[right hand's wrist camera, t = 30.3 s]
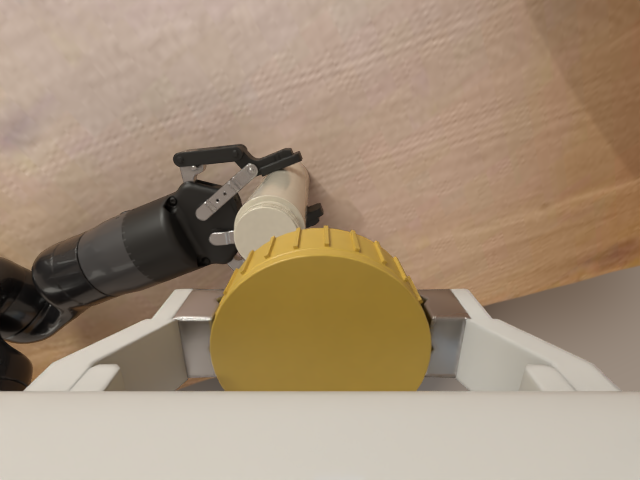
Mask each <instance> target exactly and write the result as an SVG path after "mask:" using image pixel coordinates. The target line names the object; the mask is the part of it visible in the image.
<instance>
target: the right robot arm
mask: <svg viewBox="0 0 640 480" xmlns="http://www.w3.org/2000/svg"><path fill="white" fill-rule="evenodd" d="M417 291H418V293H419V295H420V297H421V299H422V301H423V303H421V304H420V305H421V306H422V308H423V310H424V313H425V315H426V318H427V321H428V323H429V328H430V333H431V346H432V348H431V356H430V362H429V365H428V369H427V372H426V374H425V376H424V377H444V378H456V380H457V381H459V382H460V383H461V384H462V385H463V386H464V387H466V388H467V389H468V390H469V391H175V390H176V389H177V388H178V387H180V386H181V385H182V384H183V383H184V382H185V381H187V380H188V378H200V377H217V376H216V374H215V371H214V368H213V365H212V361H211V354H210V335H211V329H212V325H213V322H214V319H215V312H216V310H217V309H218V307H219V305H220V304H219V303H220V301H221V299H222V297H223V296H224V294H223V292H224V290H218V289H176V290H174V291H173V293H172V294H171V295H170V296H169V298H168V299H167V300H166V301H165V303H164V304H163V305H162V306H161V308H160V309H159V310H158V311H157V313H156V314H155V315H154V316H153V318H152V319H145V320H143V321H141V322H138V323H136V324H134V325H132V326H130V327H128V328H126V329H124V330H121V331H119V332H117V333H115V334H113V335H111V336H109V337H106V338H104V339H102V340H100V341H98V342H96V343H94V344H92V345H89V346H87V347H85V348H83V349H81V350H79V351H77V352H75V353H72V354H70V355H68V356H66V357H64V358H62V359H60V360H58V361H55V362H53V363H52V364H51V365H50V366H49V367H48V368H47V369H46V370H45V371H44V372H42V373H41V374H40V375H39V376H38V377H37V378H36V379H35V380H34V381H33V382H32V383H31V384H30V385H29V386H28V387H27V388H26V389H25V390H24V391H0V480H640V391H622V390H621V389H620V388H619V387H618V386H616V385H615V384H614V383H613V382H612V381H611V380H610V379H609V378H608V377H607V376H606V375H605V374H604V373H603V372H602V371H601V370H600V369H598V368H597V367H596V366H595V365H594V364H593V363H591V362H589V361H587V360H585V359H583V358H580V357H578V356H576V355H574V354H572V353H570V352H567V351H565V350H563V349H561V348H559V347H557V346H555V345H553V344H550V343H548V342H546V341H544V340H542V339H540V338H538V337H536V336H533V335H531V334H529V333H527V332H525V331H523V330H521V329H518V328H516V327H514V326H512V325H510V324H508V323H505V322H503V321H501V320H499V319H492V318H491V317H490V315H489V314H488V313H487V312H486V310H485V309H484V308H483V307H482V306H481V304H480V303H479V302H478V301H477V300H476V298H475V297H474V296H473V295H472V293H471V292H470V291H469V290H467V289H430V290H417Z"/></svg>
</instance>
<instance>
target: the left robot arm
mask: <svg viewBox="0 0 640 480" xmlns="http://www.w3.org/2000/svg"><path fill="white" fill-rule="evenodd" d="M173 161H174V163H175V165H177V166H178V167H180V170H181V174H182V178H183V182H184V183H183V184H182V185H181V186H180V187H179V189H178V190H177V191H176V192H174V193H172V194H169V195H167V196H165V197H162V198H160V199H157V200H155V201H152V202H150V203H148V204H145V205H143V206H140V207H138V208H135V209H133V210H129V211H125V212H122V213H121V214H120V215H118V216H116V217H113V218H111V219H109V220H107V221H105V222H103V223H101V224H100V225H98V226H96V227H95V228H93V229H91V230H89V231H86V232H84V233H81V234H79V235H76V236H74V237H71V238H69V239H67V240H64V241H62V242H59V243H57V244H55V245H53V246H51V247H49V248H47V249H45V250H44V251H43V252H41V253H40V254H39V255H38V257H37V258H36V259H35V261H34V263H33V266H32V271H30V270H28V269H26V268H24V267H22V266H20V265H18V264H16V263H14V262H12V261H10V260H8V259H5V258H2V257H0V391H24V390H25V389H26V388H27V387H28V386H29V385H30V384H31V379H32V373H33V367H32V363H31V361H30V360H29V359H28V358H27V357H26V356H25V355H23V354H22V353H21V352H19V351H17V350H16V349H14V348H13V347H11V346H10V345H8V344H7V343H6V342H5V341H8V342H11V343H17V344H28V343H35V342H39V341H42V340H45V339H47V338H49V337H51V336H52V335H54V334H55V333H57V332H58V331H59V330H60V329H62V328H63V327H64V326H66V325H67V324H68V323H69V322H71V321H72V320H74V319H75V318H76V317H78V316H79V315H80V314H82V313H83V312H84V311H86V310H87V309H88V308H90V307H91V306H94V305H97V304H100V303H102V302H105V301H108V300H110V299H113V298H116V297H118V296H121V295H124V294H127V293H132V292H137V291H141V290H144V289H147V288H149V287H152V286H155V285H157V284H160V283H163V282H165V281H168V280H171V279H173V278H176V277H178V276H181V275H184V274H186V273H189V272H192V271H194V270H197V269H200V268H202V267H205V266H207V265H210V264H216V263H217V264H228V265H229V266H230V267H231V268H232V270H233V271H235V269H236V268H237V269H239V268H240V267H241V266H242V264H243V263H244V262H245V259H244V258H243V257H238V256H237V255H236V254H237V252H238V250H237V248H236V245H235V242H234V223H235V218H236V215H237V213H238V211H239V210H240V209H241V207H242V203H241V199H240V197H239V195H238V193H237V192H239V191H240V190H241V189H242V188H243V187H244V186H245V185H246V184H247V183H249V182H250V181H251V180H252V179H253V178H254V177H256V176H259V175H261V174H262V176H266V175H268V174H270V173H273V172H275V171H278V170H280V169H283V168H285V167H288V166H290V165H293V164H295V163H298V162H300V161H302V156H301V153H300V151H298V152H295V153H293V151H292V149H291V148H285V149H282V150H280V151H277V152H275V153H272V154H270V155H268V156H265V157H263V158H255V157H253V156H252V155H251V154H250V153H249V152H248V151H247V148H246V146H244V145H242V144H237V145H228V146H219V147H210V148H200V149H191V150H186V151H182V152H179V153H176V154H175V155H174V157H173ZM234 161H235V162H236V164H237V165H238V166H239V167H240V168H241V169H242V170H240V171H239V172H238V173H237V174H236V175H235V176H234V177H233V178H232V179H230V180H229V181H228V182H227V183H226V184H225V185H224V186H221V185H217V184H213V183H209V182H205V181H201V180H197V175H198V174H199V173H201V172H203V171H204V170H205V169H206V164H215V163H224V162H234ZM322 215H323V209H322V206H321V204H320V203H318V204H315V205H312V206H310V207H308V208H307V219H306V228H308V227H311V226H313V225H315V224H317V223H318V222H319V217H320V216H322Z"/></svg>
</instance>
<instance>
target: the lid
mask: <svg viewBox="0 0 640 480" xmlns="http://www.w3.org/2000/svg"><path fill="white" fill-rule="evenodd" d="M223 294H224V296H223V297H222V299H221V301H220V303H219V304H220V305H219V307H218V309H217V310H216V312H215V319H214V322H213V325H212V329H211V335H210V354H211V361H212V365H213V368H214V371H215V374H216V376H217V378H218V380H219V382H220V384H221V386H222V387H223V389H224V390H225V391H417V389H418V388H419V386H420V384H421V383H422V381H423V379H424V376H425V374H426V372H427V369H428V365H429V362H430V356H431V348H432V346H431V333H430V328H429V323H428V321H427V318H426V315H425V313H424V310H423V308H422V306H421V305H420V304H421V303H423V301H422V299H421V297H420V295H419V293H418V291H417V289H416V288H415V286H414V284H413V282H412V280H411V278H410V276H408V277H407V276H406V274H405V272H404V270H403V268H402V266H401V264H400V262H399V260H398V258H397V257H396V256H395V257H394V258H393V257H392V256H391V255H390V254H389V253H388V252H387V251H386V250H384V249H383V248H381V246H380V244H379V242H378V241H375V242H372V241H370V240H369V239H367V238H365V237H362V236H360V235H357V234H356V233H355V231H354V230H351V232H348V231H343V230H339V229H330V228H328V226H324V228H310V229H303V230H301V228H300V227H299V228H296V231H294V232H290V233H286V234H284V235H281V236H279V237H277V238H276V237H275V236H272V237H271V239H270V241H269V242H267V243H265V244H264V245H262V246H261V247H260V248H258V249H257V250H256V251H253V250H251V251H250V253H249V255H248V257H247V259H246V260H245V262H244V263H243V264H242V266H241V267H240V268H239V269H237V268H236V269H235V271H234V273H233V275H232V277H231V279H230V280H229V282H228V284H227V286H226V288H225V290H224V292H223Z"/></svg>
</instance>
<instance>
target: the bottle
mask: <svg viewBox="0 0 640 480" xmlns="http://www.w3.org/2000/svg"><path fill="white" fill-rule="evenodd" d="M309 185H310V177H309V173H308V171H307V169H306V168H305V167H304V166H303V165H302V164H301V163H300V162H298V163H295V164H293V165H290V166H288V167H285V168H283V169H280V170H278V171H275V172H273V173H270V174H268V175H266V176H265V177H264V179H263V180H262V181H261V182H260V184H259V185H258V186H257V188H256V189H255V190H254V192H253V193H252V194H251V195H250V197H249V198H248V199H247V201H246V202H245V203H244V205H243V206H242V207H241V209H240V210H239V211H238V213H237V215H236V218H235V223H234V242H235V245H236V248H237V250H238V252H239V253H240V255H241V256H242V257H243V258H244V259H245V260H246V259H247V257H248V255H249V253H250V251H251V250H253V251H256V250H257V249H258V248H260V247H261V246H262V245H264V244H265V243H267V242H269V241H270V239H271V237H272V236H275V237H276V238H277V237H279V236H281V235H284V234H286V233H290V232H294V231H296V228H299V227H300V228H301V230H303V229H306V219H307V208H308V196H309Z"/></svg>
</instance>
